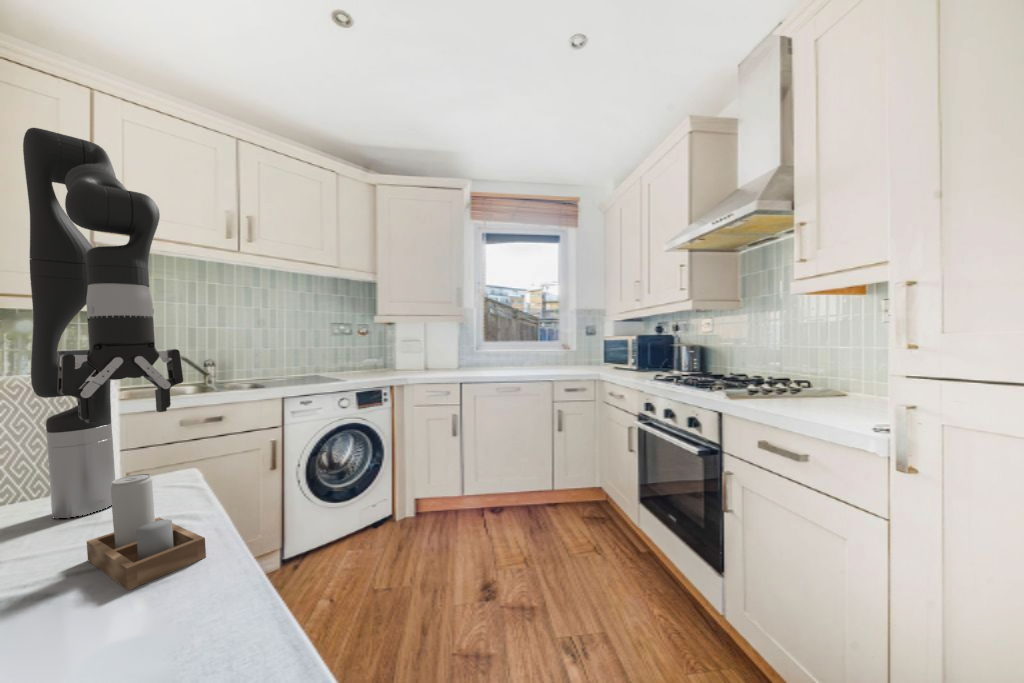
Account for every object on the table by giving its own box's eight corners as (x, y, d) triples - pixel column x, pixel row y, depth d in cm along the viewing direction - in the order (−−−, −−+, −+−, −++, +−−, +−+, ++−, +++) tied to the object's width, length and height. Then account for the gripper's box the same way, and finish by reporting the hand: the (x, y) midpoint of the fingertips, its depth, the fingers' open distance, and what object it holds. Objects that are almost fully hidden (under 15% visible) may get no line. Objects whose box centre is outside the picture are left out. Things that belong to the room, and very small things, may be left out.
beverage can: (131, 562, 62) (126, 484, 61) (107, 560, 63) (101, 483, 62) (164, 545, 66) (159, 473, 66) (141, 544, 67) (136, 472, 67)
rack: (87, 560, 63) (86, 541, 63) (160, 534, 71) (159, 517, 71) (128, 590, 54) (126, 568, 54) (206, 557, 62) (204, 537, 62)
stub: (134, 568, 60) (131, 528, 60) (168, 555, 63) (165, 517, 63) (145, 575, 58) (142, 534, 58) (179, 561, 61) (176, 522, 61)
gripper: (167, 317, 72) (172, 407, 72) (47, 315, 60) (54, 424, 60) (186, 314, 68) (191, 410, 68) (62, 312, 56) (69, 428, 56)
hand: (127, 416), depth 64 cm, fingers open, 8 cm apart
